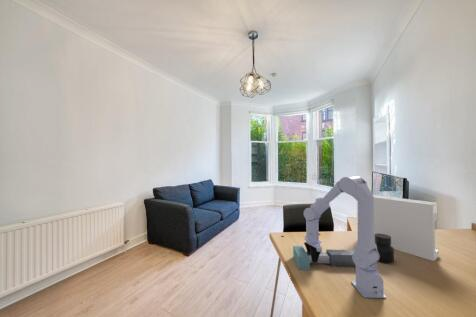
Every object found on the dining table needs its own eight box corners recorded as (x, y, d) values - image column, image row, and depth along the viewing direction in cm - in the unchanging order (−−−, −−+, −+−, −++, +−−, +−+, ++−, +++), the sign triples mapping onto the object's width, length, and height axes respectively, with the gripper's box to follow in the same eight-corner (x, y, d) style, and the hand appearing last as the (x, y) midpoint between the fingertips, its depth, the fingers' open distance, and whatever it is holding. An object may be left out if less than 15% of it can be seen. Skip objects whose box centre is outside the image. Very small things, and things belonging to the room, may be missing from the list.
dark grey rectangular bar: (361, 267, 93) (361, 255, 93) (331, 266, 94) (330, 254, 94) (355, 261, 99) (354, 249, 99) (326, 260, 100) (326, 249, 100)
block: (359, 238, 128) (358, 195, 128) (365, 235, 132) (364, 193, 133) (433, 261, 98) (432, 204, 99) (438, 256, 103) (437, 202, 103)
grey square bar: (339, 263, 95) (338, 255, 95) (300, 262, 96) (300, 255, 96) (335, 259, 98) (335, 252, 98) (299, 259, 99) (298, 251, 99)
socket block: (309, 269, 91) (309, 257, 92) (299, 269, 92) (298, 256, 92) (302, 257, 103) (302, 246, 104) (293, 257, 104) (293, 246, 104)
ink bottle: (381, 254, 106) (381, 231, 106) (399, 262, 98) (398, 237, 98) (367, 257, 103) (367, 234, 103) (385, 265, 95) (384, 240, 95)
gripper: (328, 237, 91) (328, 267, 90) (313, 227, 105) (313, 252, 105) (313, 238, 90) (313, 268, 90) (300, 227, 105) (301, 253, 104)
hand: (312, 259), depth 97 cm, fingers closed on grey square bar, 4 cm apart
